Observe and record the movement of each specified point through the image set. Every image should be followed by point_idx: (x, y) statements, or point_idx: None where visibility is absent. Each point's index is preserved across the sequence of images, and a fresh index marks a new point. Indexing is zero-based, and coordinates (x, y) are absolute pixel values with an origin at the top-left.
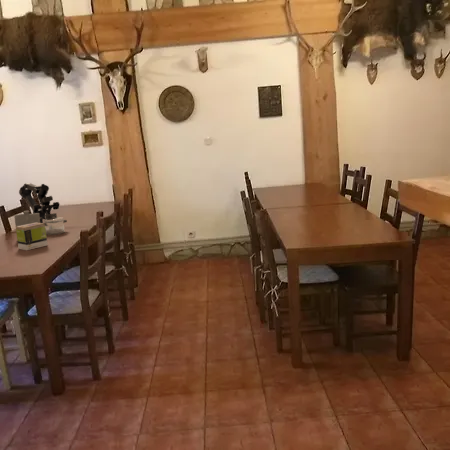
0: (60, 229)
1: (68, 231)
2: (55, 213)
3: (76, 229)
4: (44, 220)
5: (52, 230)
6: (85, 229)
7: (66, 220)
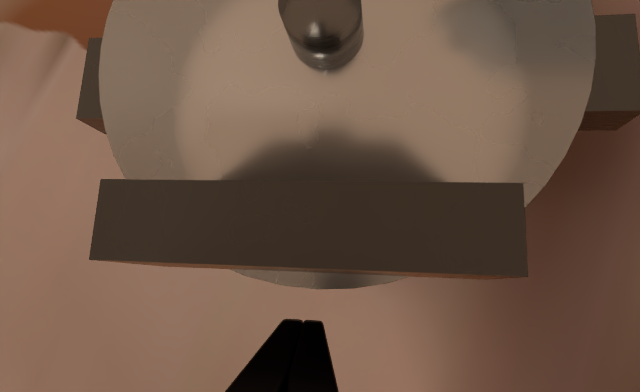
0: None
1: None
2: (132, 180)
3: (65, 152)
4: (592, 16)
5: None
6: (9, 64)
7: (99, 42)
